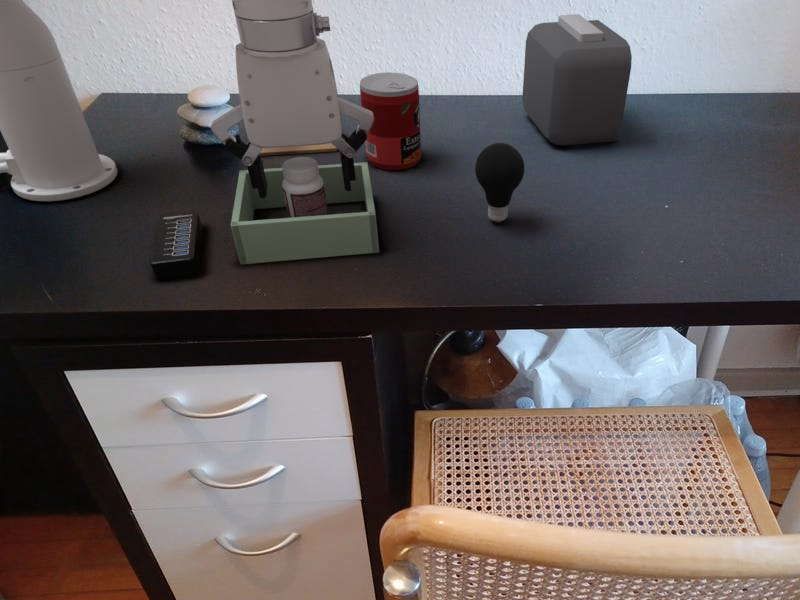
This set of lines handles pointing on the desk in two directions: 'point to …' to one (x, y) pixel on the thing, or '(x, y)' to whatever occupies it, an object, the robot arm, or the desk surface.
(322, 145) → the coaster
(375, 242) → the open box
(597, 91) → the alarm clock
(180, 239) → the multiport hub
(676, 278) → the desk surface
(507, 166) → the light bulb
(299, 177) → the pill bottle
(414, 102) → the canned food
